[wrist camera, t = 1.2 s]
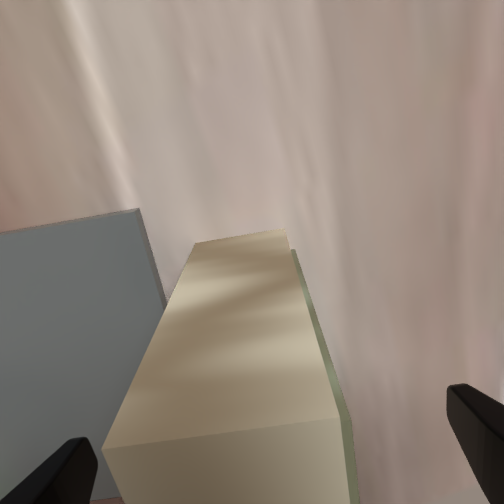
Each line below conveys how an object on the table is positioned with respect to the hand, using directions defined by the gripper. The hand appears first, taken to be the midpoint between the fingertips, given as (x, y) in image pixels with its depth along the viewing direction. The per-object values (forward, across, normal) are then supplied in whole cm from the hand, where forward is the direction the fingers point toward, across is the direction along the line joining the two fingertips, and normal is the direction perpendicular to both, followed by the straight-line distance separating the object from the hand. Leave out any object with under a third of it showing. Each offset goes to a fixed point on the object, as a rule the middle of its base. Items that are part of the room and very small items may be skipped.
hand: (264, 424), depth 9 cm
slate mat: (+4, +10, +1) cm, 11 cm away
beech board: (+4, 0, 0) cm, 5 cm away
